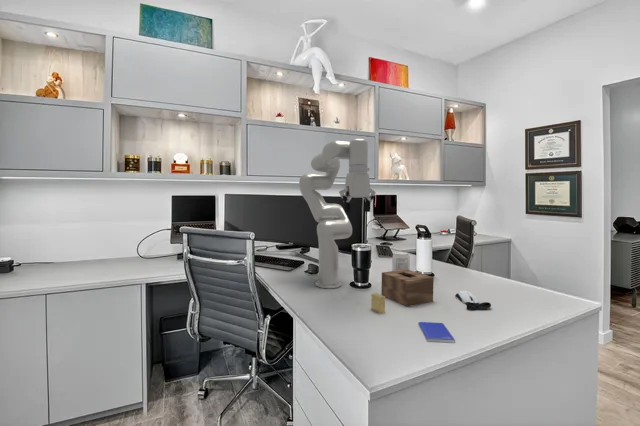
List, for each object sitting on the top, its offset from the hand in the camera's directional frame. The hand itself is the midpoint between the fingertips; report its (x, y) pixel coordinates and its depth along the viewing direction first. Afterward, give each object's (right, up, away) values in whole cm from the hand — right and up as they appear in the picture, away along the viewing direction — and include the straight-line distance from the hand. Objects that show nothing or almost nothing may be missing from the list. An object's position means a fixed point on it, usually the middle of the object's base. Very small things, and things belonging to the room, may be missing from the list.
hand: (357, 211), depth 130 cm
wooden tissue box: (+21, -37, +4) cm, 43 cm away
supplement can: (+25, -36, +28) cm, 51 cm away
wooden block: (+7, -38, -10) cm, 39 cm away
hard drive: (+21, -39, -29) cm, 54 cm away
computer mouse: (+46, -38, -1) cm, 59 cm away
